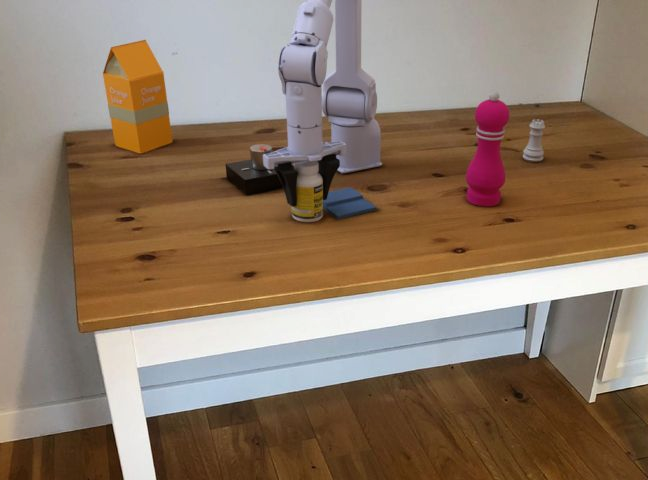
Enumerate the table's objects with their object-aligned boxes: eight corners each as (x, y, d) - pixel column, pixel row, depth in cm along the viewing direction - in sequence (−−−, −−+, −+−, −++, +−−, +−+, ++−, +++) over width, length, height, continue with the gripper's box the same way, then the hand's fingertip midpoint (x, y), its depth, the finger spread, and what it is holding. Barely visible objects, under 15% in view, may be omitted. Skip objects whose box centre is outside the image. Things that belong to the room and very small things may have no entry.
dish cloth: (351, 192, 143) (351, 186, 142) (376, 210, 137) (376, 203, 136) (313, 201, 139) (312, 194, 138) (337, 219, 133) (337, 212, 132)
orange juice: (173, 142, 161) (160, 42, 150) (140, 154, 155) (124, 50, 144) (147, 134, 164) (132, 36, 153) (114, 145, 158) (96, 44, 147)
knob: (247, 164, 144) (246, 144, 142) (267, 161, 146) (266, 141, 144) (256, 171, 142) (255, 151, 139) (276, 168, 144) (275, 147, 141)
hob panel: (278, 168, 151) (278, 153, 150) (300, 184, 145) (299, 168, 143) (226, 178, 146) (225, 162, 144) (246, 195, 140) (244, 179, 138)
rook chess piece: (519, 160, 161) (524, 122, 156) (525, 153, 164) (530, 116, 160) (540, 164, 159) (546, 126, 155) (545, 157, 163) (551, 120, 158)
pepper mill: (506, 196, 145) (519, 88, 133) (497, 210, 139) (510, 99, 128) (469, 189, 146) (479, 83, 135) (459, 203, 141) (469, 93, 129)
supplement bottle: (318, 225, 131) (317, 170, 125) (287, 221, 132) (285, 166, 126) (327, 212, 135) (326, 158, 130) (297, 208, 136) (295, 155, 131)
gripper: (274, 137, 118) (279, 218, 126) (355, 123, 125) (355, 201, 133) (255, 123, 123) (260, 202, 130) (334, 111, 130) (335, 187, 137)
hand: (307, 201), depth 132 cm, fingers closed on supplement bottle, 5 cm apart
